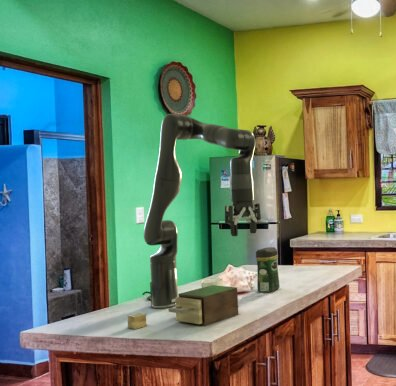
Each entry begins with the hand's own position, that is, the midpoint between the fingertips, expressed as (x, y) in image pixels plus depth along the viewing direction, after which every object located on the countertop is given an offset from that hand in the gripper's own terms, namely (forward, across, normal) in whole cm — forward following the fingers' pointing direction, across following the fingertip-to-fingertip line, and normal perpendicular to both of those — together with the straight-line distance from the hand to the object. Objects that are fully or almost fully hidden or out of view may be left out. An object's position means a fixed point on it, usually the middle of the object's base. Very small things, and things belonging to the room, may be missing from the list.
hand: (244, 234), depth 167 cm
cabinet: (+29, +6, -12) cm, 32 cm away
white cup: (+29, -6, -24) cm, 38 cm away
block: (+29, +23, -28) cm, 46 cm away
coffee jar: (+29, -35, -23) cm, 51 cm away
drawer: (+28, +10, -12) cm, 32 cm away
